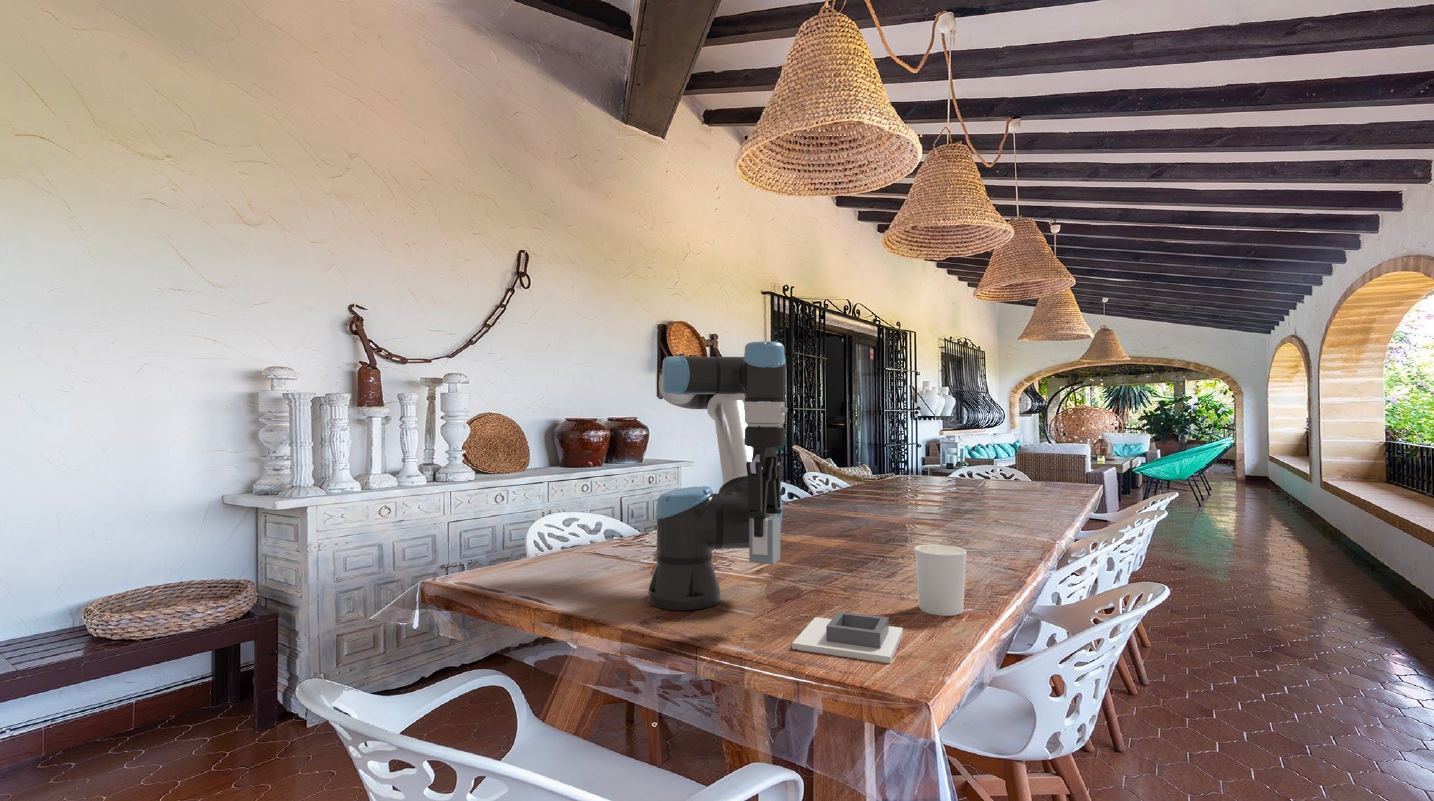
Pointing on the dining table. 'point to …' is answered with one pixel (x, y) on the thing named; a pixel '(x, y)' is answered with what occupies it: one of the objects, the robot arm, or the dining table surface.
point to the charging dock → (851, 637)
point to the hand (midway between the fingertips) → (764, 551)
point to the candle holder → (940, 579)
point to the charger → (772, 542)
